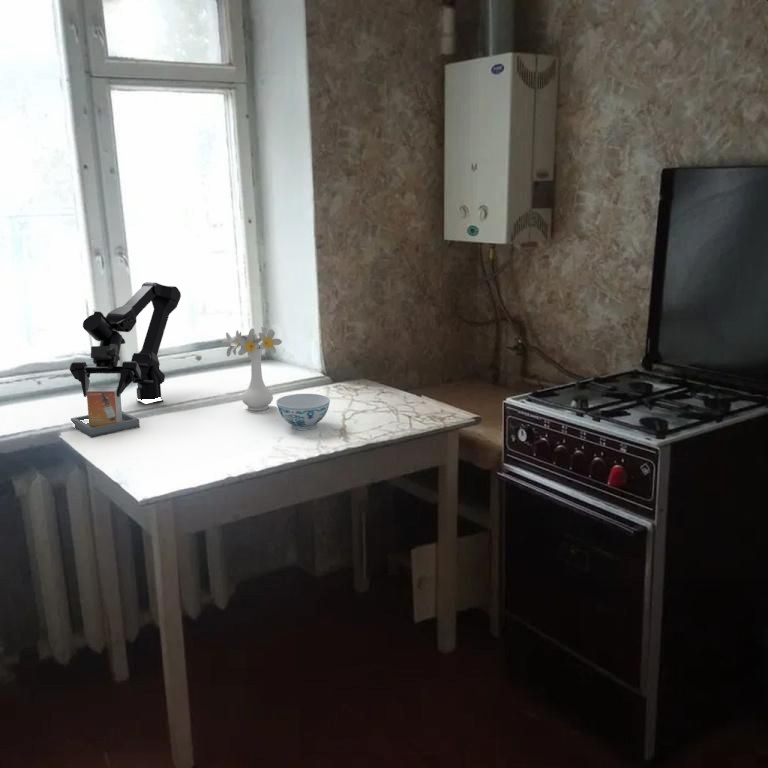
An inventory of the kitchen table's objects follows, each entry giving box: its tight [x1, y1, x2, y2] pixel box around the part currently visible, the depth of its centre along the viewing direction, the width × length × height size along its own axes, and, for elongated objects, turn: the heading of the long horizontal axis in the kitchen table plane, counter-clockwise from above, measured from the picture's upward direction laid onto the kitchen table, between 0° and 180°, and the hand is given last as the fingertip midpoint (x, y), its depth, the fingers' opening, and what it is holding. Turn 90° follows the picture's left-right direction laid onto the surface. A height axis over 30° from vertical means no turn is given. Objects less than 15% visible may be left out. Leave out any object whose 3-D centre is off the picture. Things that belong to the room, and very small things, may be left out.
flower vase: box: [221, 326, 283, 412], centre depth 244 cm, size 13×18×25 cm
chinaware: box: [276, 393, 331, 431], centre depth 228 cm, size 15×15×8 cm
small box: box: [86, 385, 123, 427], centre depth 228 cm, size 8×6×10 cm
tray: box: [70, 410, 141, 439], centre depth 229 cm, size 14×14×2 cm
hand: (101, 396), depth 226 cm, fingers open, 9 cm apart
